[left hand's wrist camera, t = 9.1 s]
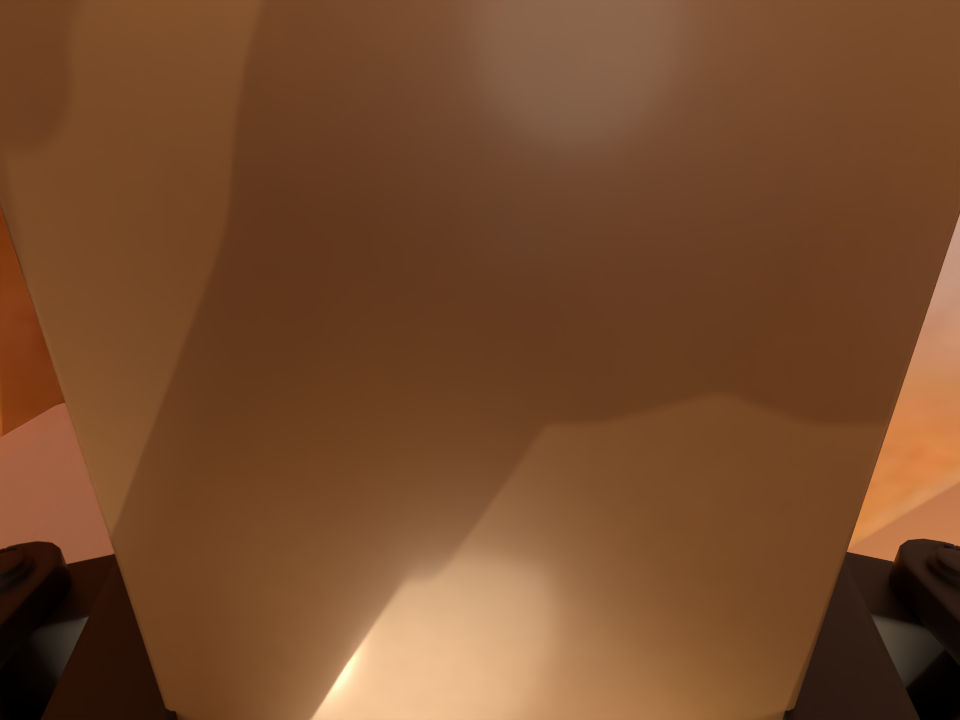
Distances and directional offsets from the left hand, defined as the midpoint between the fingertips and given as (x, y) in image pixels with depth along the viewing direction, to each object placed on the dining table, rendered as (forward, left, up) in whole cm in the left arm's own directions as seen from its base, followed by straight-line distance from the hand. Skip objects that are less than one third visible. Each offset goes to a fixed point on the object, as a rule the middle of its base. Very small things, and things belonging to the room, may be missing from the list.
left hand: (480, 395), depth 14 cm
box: (+3, +10, -1) cm, 10 cm away
